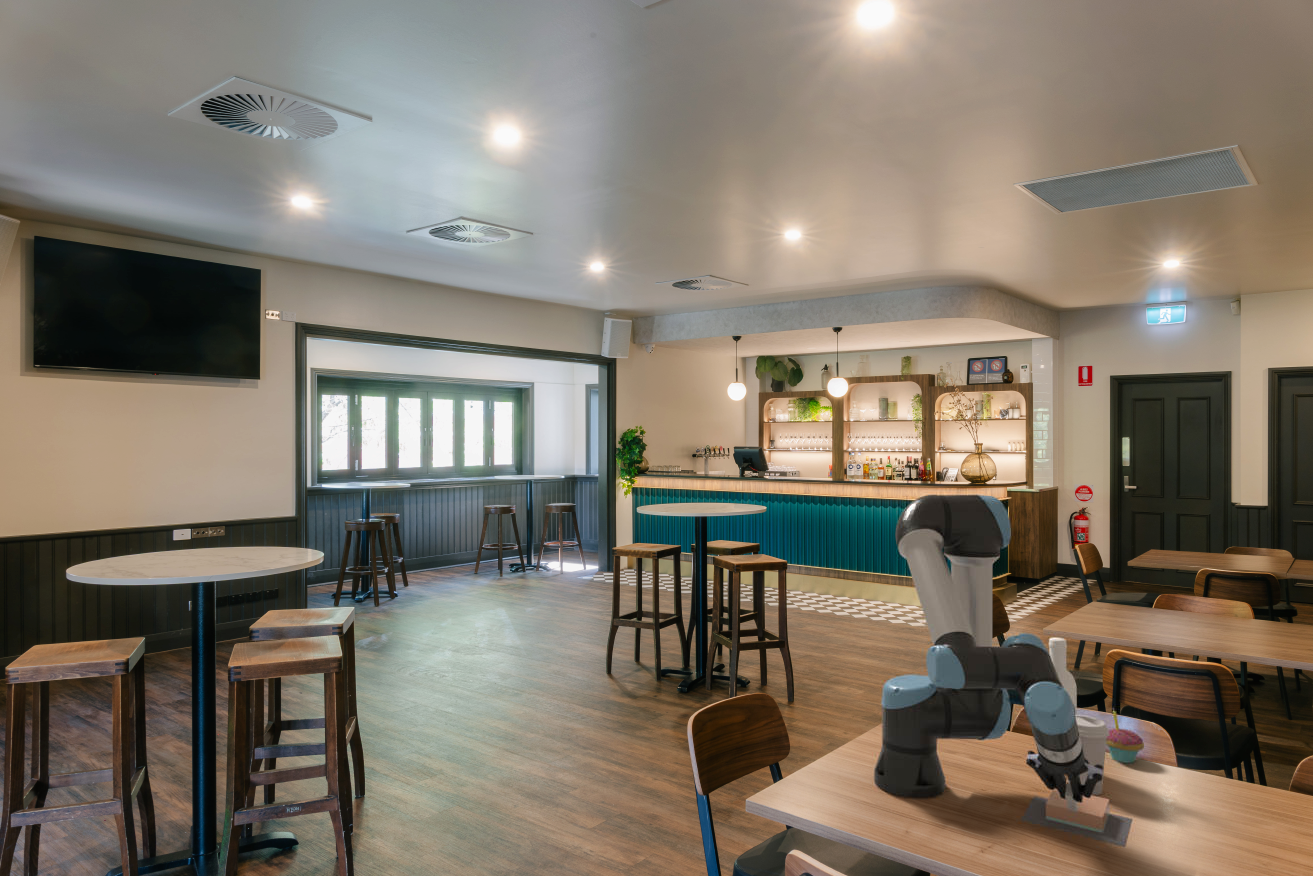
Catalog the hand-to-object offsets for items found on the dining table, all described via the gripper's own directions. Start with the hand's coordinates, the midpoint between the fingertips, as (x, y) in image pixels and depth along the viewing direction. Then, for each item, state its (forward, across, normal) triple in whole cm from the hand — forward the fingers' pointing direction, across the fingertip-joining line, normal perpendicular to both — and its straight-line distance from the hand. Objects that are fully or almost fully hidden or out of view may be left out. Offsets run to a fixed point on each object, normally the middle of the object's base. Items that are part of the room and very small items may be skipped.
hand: (1074, 804), depth 155 cm
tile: (+2, 0, -2) cm, 3 cm away
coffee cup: (+19, -1, +12) cm, 23 cm away
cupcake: (+37, +4, +30) cm, 47 cm away
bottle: (+27, -8, +20) cm, 34 cm away
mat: (+5, 0, -1) cm, 6 cm away
